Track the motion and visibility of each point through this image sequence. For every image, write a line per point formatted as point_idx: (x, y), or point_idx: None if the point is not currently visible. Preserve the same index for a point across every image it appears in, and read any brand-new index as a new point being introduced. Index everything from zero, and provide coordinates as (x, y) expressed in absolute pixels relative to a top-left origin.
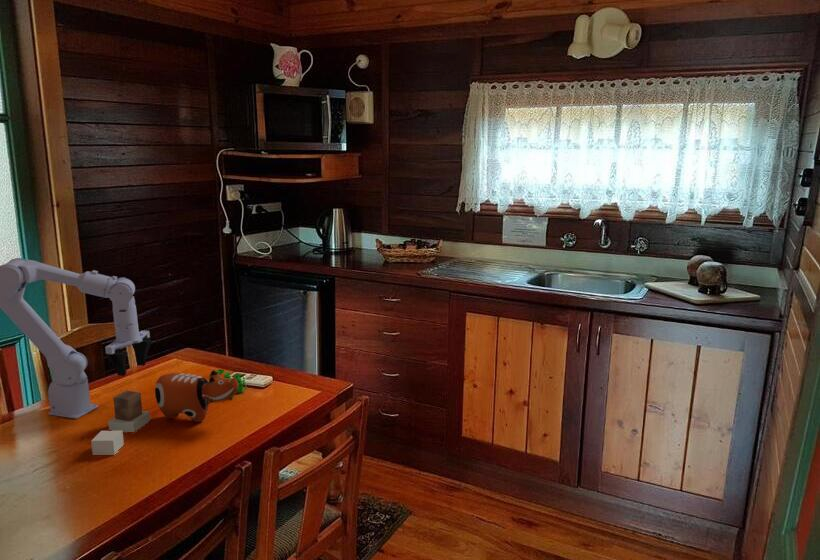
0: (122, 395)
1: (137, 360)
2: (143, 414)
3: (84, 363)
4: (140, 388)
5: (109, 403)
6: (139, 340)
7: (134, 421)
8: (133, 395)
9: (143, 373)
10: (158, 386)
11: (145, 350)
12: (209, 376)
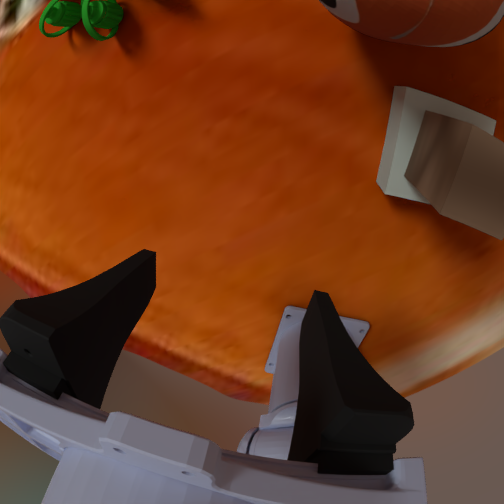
0: (493, 206)
1: (144, 304)
2: (429, 104)
3: (273, 454)
4: (135, 246)
5: (257, 287)
6: (173, 457)
7: (481, 121)
8: (501, 151)
9: (61, 280)
10: (502, 13)
11: (94, 300)
12: (45, 33)
